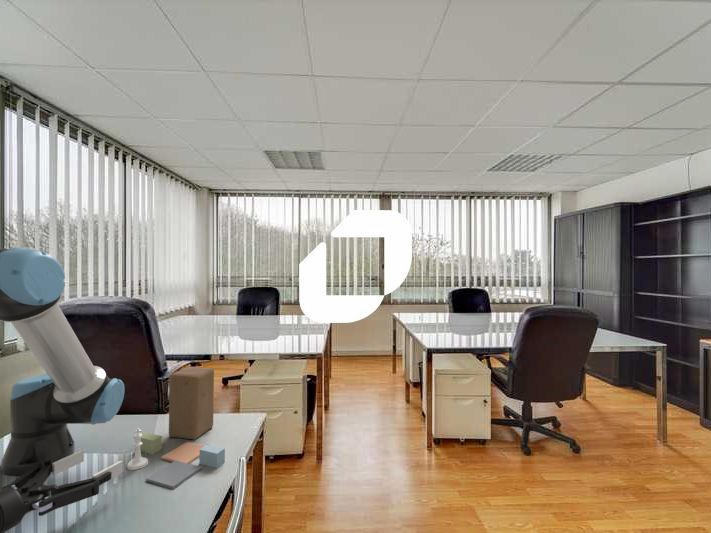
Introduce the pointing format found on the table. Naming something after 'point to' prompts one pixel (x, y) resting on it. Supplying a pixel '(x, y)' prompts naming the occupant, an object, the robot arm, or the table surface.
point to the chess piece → (137, 454)
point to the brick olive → (151, 443)
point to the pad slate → (173, 474)
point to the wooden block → (191, 402)
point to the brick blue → (212, 456)
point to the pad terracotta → (184, 453)
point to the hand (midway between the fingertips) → (101, 460)
